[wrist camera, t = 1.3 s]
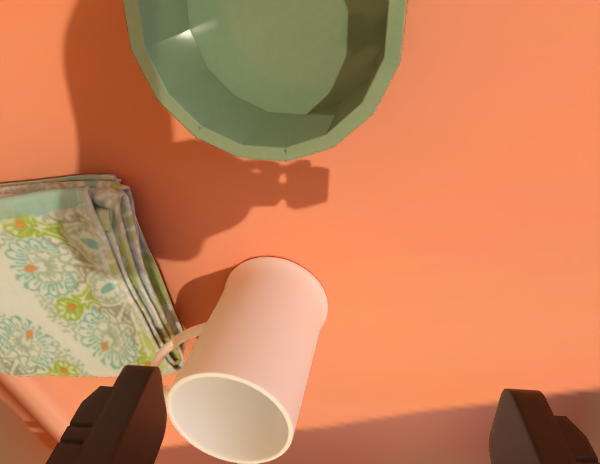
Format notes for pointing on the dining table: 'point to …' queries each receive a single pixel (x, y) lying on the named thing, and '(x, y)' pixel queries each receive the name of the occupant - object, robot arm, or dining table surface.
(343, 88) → the bowl
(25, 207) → the towel
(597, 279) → the dining table surface
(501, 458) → the robot arm
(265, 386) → the mug
